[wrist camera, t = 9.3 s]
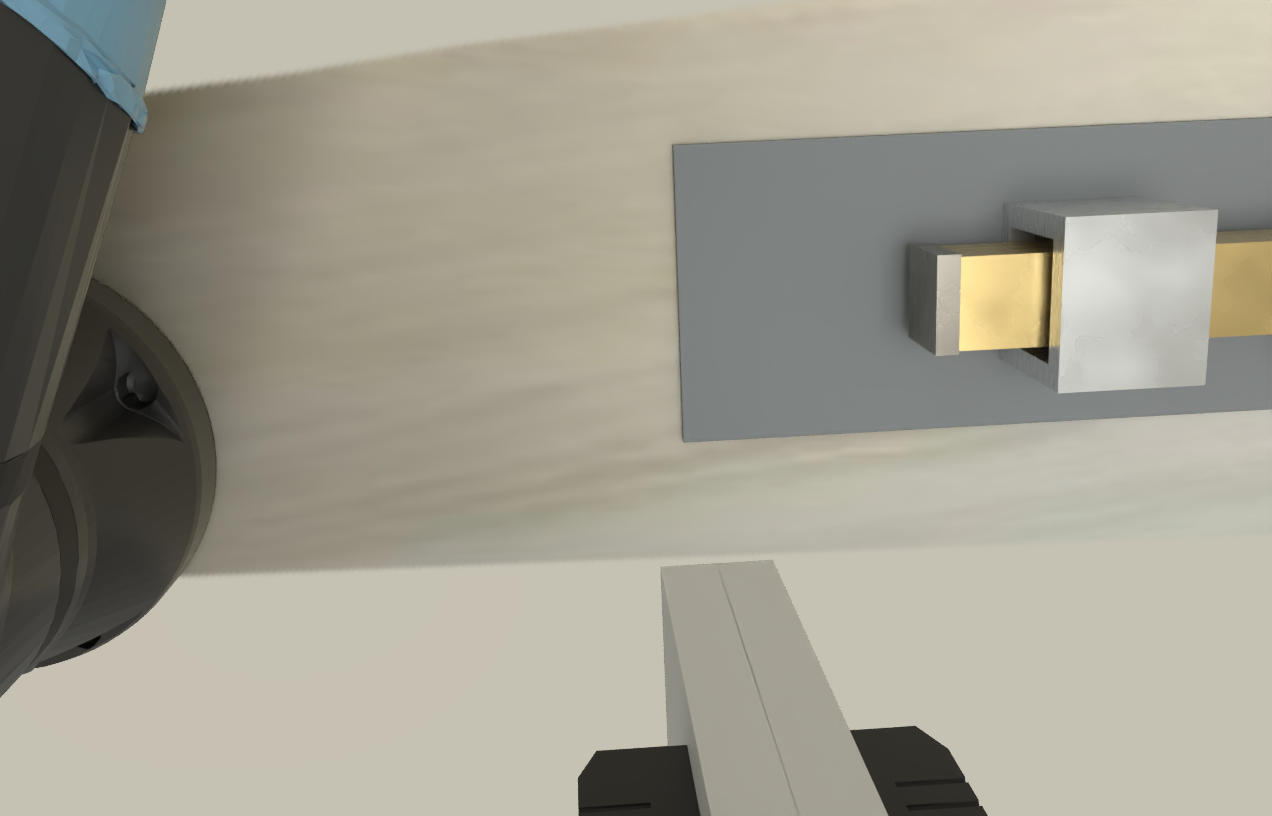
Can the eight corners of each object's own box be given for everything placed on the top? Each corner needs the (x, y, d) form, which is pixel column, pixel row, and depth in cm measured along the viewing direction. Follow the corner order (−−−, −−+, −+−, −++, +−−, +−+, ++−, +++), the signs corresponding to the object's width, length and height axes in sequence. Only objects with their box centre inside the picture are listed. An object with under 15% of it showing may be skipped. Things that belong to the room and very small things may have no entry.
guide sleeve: (995, 356, 46) (1058, 393, 40) (1000, 202, 45) (1065, 217, 39) (1125, 349, 46) (1205, 385, 40) (1133, 195, 45) (1218, 209, 39)
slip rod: (908, 337, 44) (935, 355, 41) (909, 243, 43) (937, 255, 40) (1334, 314, 45) (1394, 331, 42) (1343, 222, 44) (1406, 231, 41)
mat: (683, 440, 46) (683, 442, 46) (672, 144, 43) (673, 145, 43) (1422, 398, 47) (1427, 400, 47) (1457, 108, 45) (1462, 108, 44)
